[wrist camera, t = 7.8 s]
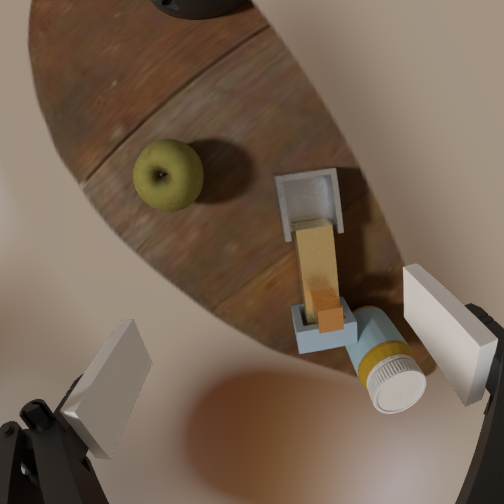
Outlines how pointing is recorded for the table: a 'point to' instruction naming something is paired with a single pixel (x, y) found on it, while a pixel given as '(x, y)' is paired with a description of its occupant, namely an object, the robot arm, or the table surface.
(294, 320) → the socket block
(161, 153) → the apple
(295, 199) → the sleeve
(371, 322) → the bottle
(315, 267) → the yellow orange l-shaped block
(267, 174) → the table surface
